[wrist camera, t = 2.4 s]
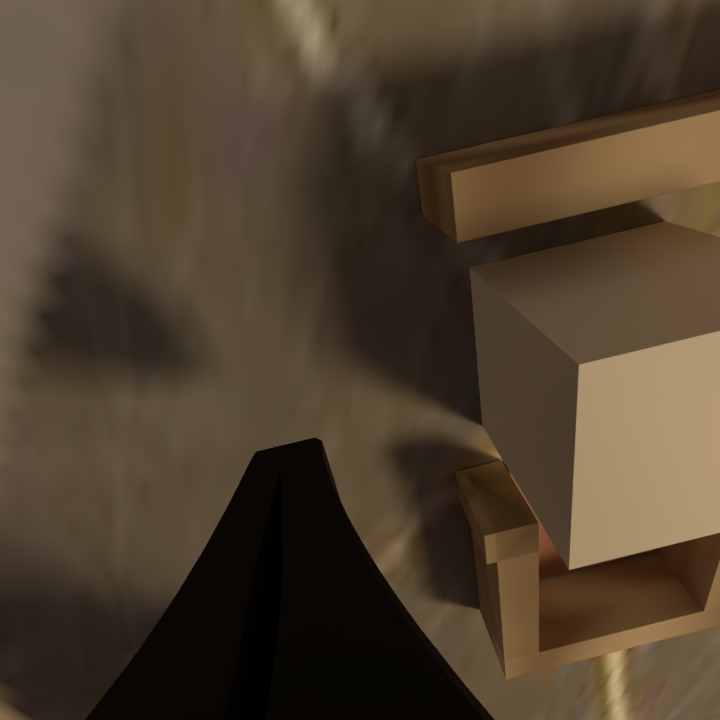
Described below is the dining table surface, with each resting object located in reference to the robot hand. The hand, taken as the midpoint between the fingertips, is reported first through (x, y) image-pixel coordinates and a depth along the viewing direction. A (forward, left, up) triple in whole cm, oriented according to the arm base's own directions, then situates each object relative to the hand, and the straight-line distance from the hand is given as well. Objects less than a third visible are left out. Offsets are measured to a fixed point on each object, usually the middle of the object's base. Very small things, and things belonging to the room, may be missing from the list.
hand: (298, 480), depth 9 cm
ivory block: (+7, 0, -3) cm, 8 cm away
